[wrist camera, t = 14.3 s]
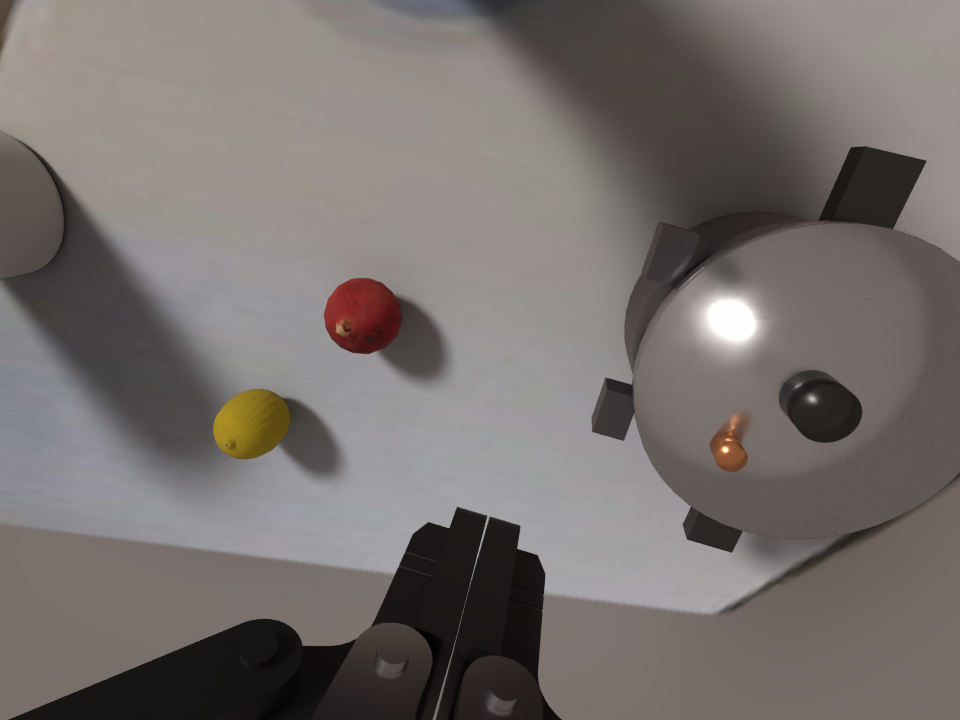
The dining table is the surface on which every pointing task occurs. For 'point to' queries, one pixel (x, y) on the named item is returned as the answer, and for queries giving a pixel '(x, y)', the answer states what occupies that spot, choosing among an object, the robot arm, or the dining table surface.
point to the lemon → (251, 424)
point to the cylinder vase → (26, 211)
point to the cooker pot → (677, 251)
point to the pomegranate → (362, 316)
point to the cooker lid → (806, 380)
